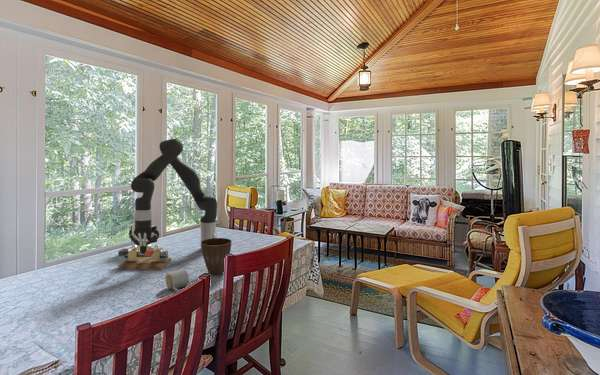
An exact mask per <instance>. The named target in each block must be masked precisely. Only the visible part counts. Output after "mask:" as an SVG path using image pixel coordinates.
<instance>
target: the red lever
mask: <svg viewBox="0 0 600 375" xmlns="http://www.w3.org/2000/svg"><path fill="white" fill-rule="evenodd" d="M158 248H160V245H154V246H153V249H148V250H147V251H145V256H151V255H153V254H154V251H155V250H156V249H158Z"/></svg>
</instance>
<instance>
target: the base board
mask: <svg viewBox="0 0 600 375" xmlns="http://www.w3.org/2000/svg"><path fill="white" fill-rule="evenodd" d="M172 261H173V258H172V257H168V261H167V262H166V263H161V260H151V257H141V258H139V259H138V260H131V261H130V262H128V263H123V262H122V263H119V265H118V270H163V269H164V268H166V267H167V266H168V265H169V264H170V263H172Z"/></svg>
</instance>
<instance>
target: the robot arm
mask: <svg viewBox="0 0 600 375" xmlns="http://www.w3.org/2000/svg"><path fill="white" fill-rule="evenodd" d="M183 145H184V144H183V143H182V141H181V140H180V139H178V138H170V139H166V140H163V141H161V142H160V143H159V151H160V153H161V155H160V156H158V157H157V158H156V159H154V160H153V161H152V162H151V163H150V164H149V165H148V166H147V167H146V169H145V170H144V171H142V172H141V173H140V174H138V175H137V176H135V177H133V179H132V181H131V183H130V188H131V190H132V191H133V192H135V193H142V196H141V197H140V196H139V197H136V198H135V200H134V217H133V218H134V225H135V230H134V233H133V234H131V235H130V236H129V235H128V237H129V239H130V241H131V240H132V241H133V242H132V243H134V245H137V246H138V245H139V246H140V253H141V254H145V251H147V245H149V244H150V243H151V242H152V241H153V240H154V239H155V237H156V236H157V234H154V233H153V231H152V226H153V225H152V198H153V193H154V192H155V191H154V190H155V181H156V180H157V179H159V177H160V176H161V175H162V173H163V171H165V169H167V167H168V166H169V165H170V166H172V168H173V170H174V171H175V172H176V174H177V176H178V177H179V178H180V180H181V181H182V183H183V184H184V186H185V187H186V189H187V190H188V192H189V193H190V195H191V197H192V198H193V200H194V201H195V204H196V205H197V208H198V209H199V210H201V211H202V212H203V211H204V216H201V217H200V224H199V226H200V242H201V241H203V240H206V239H211V238H218V237H217V236H218V233H217V231H216V230H217V229H216V227H217V225H216V224H217V223H216V222H217V220H216V219H217V218H218V217H217V216H218V201H217V199H216V197H214V196H209V195H206V194H205V193H204V192H203V190H202V188H201V181H200V180H201V179H200V177H199V174H197V172H196V170H195V169H194V167H192V166H190V165H189V164H188V163H186V162H185V161H183V160H182V159H181V158H180V157H178V156H180V155H181V154H182V152H183V151H184V146H183ZM151 225H152V226H151ZM135 235H136V237H137V238H138V239H139V241H138V240H137V239H136V238H135ZM150 235H152V236H151V237H152V238H151V239H150V241H149V242H147V240H148V238H149V237H150ZM151 244H152V243H151ZM200 250H201V251H202V248H201V247H200Z"/></svg>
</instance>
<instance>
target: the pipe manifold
mask: <svg viewBox="0 0 600 375" xmlns="http://www.w3.org/2000/svg"><path fill="white" fill-rule="evenodd" d="M139 258H151V260H161V263H166V262H167V261H168V258H169V250H166V249H164V247H161V248H158V249H156V250H155V251H154V254H153V255H151V256H145V254H141V253H140V248H135V249H132V250H131V251H129V252H128V254H126V255H125V256H123V257H122V263H128V262H130V261H131V260H138V259H139Z"/></svg>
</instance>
